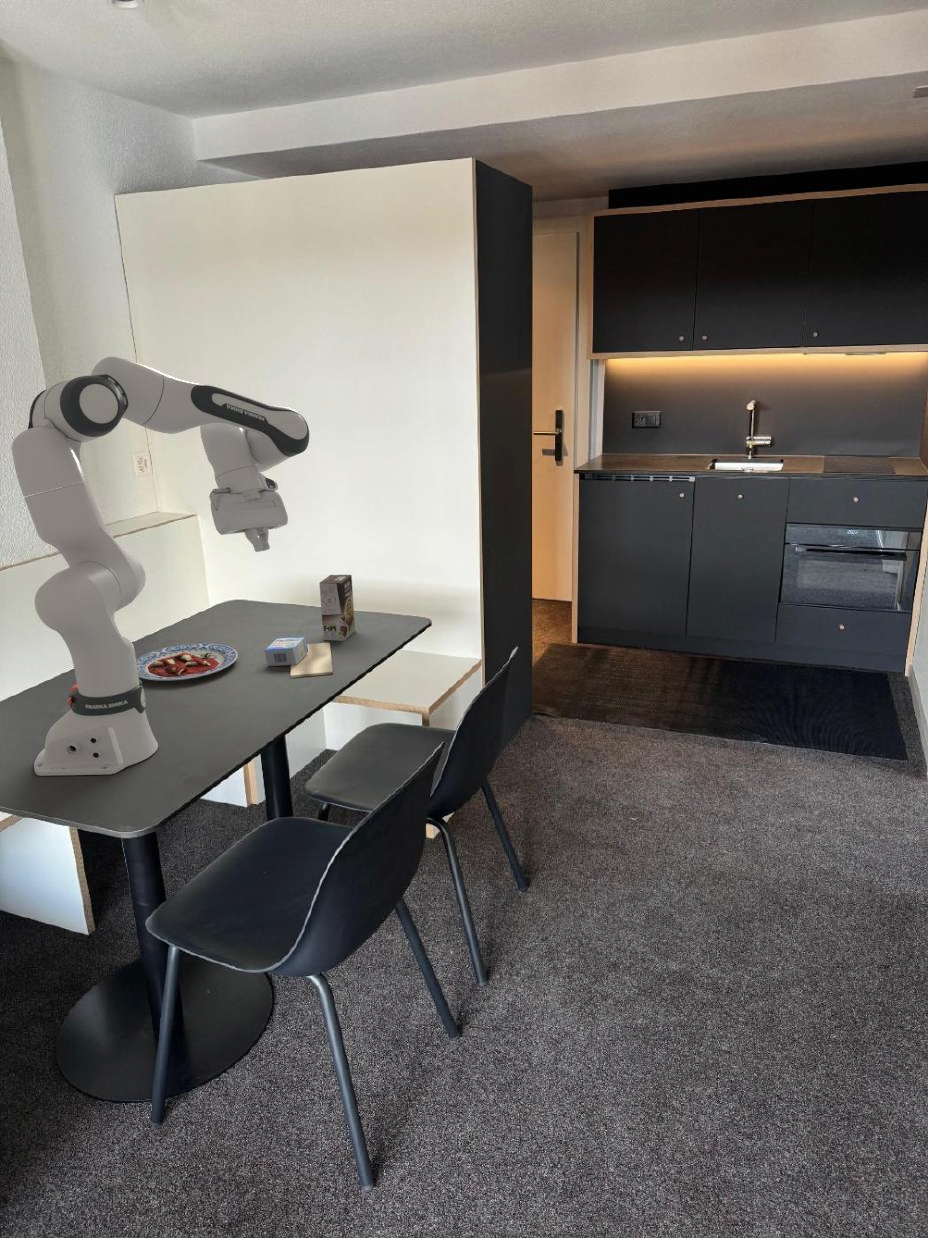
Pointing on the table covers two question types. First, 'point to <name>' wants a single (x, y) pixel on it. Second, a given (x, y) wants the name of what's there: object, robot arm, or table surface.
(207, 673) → the ceramic plate
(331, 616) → the coffee box
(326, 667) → the oak board
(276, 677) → the table surface
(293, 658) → the medicine box
